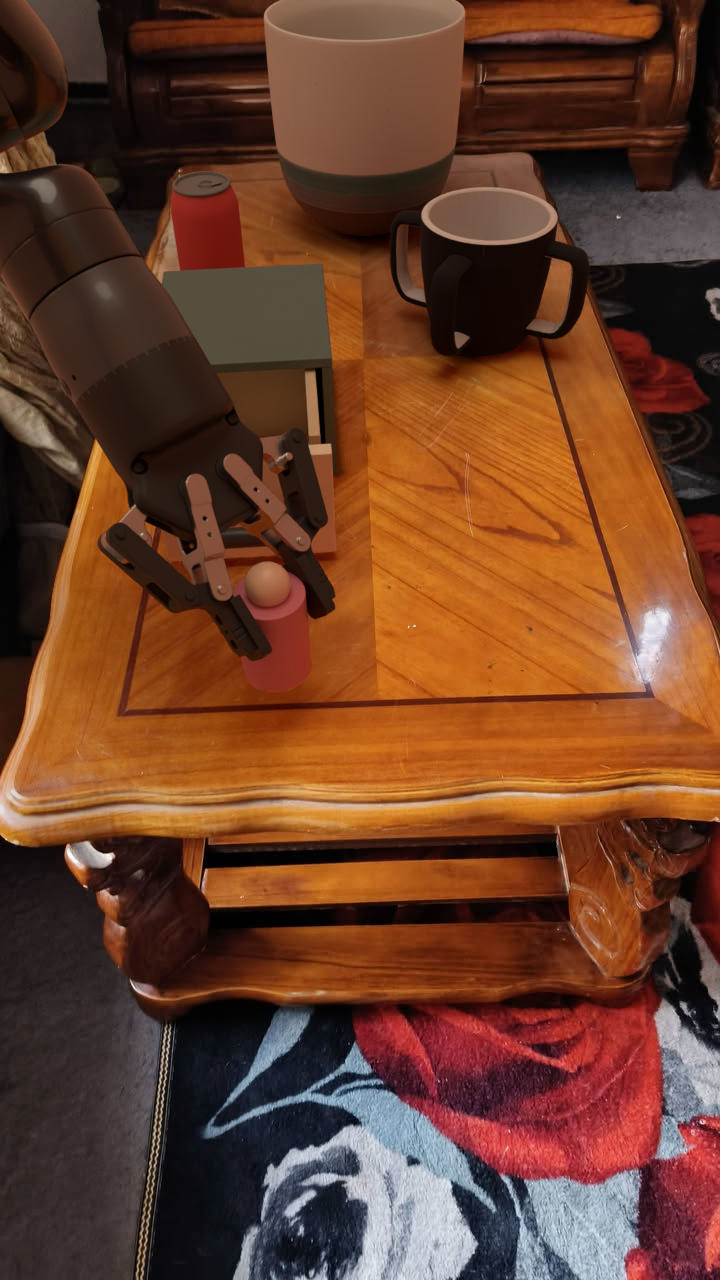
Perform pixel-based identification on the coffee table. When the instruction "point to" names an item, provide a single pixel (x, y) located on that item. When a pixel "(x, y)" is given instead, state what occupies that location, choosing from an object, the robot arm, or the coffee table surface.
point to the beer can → (206, 222)
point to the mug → (486, 269)
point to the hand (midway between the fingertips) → (293, 633)
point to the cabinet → (261, 323)
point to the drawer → (271, 411)
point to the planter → (364, 105)
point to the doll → (277, 627)
